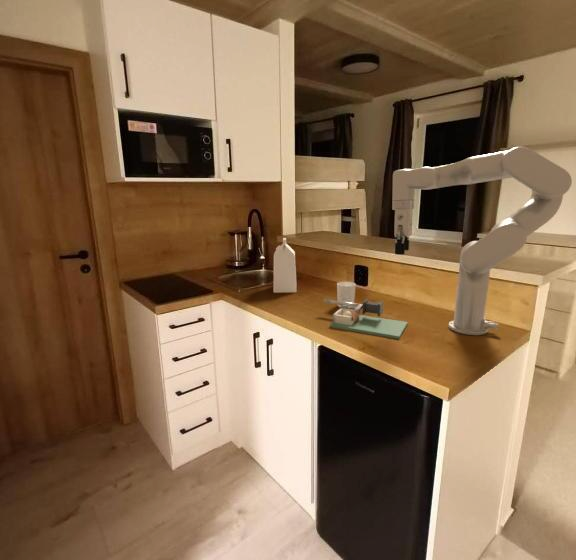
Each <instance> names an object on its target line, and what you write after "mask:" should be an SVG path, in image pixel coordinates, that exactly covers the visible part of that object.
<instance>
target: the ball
mask: <svg viewBox="0 0 576 560" xmlns="http://www.w3.org/2000/svg"><path fill="white" fill-rule="evenodd" d="M343 315H344V316H350V317H352V313H351V312H349V311H345V312H344V313H343Z"/></svg>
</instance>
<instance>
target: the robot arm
mask: <svg viewBox="0 0 576 560" xmlns="http://www.w3.org/2000/svg"><path fill="white" fill-rule="evenodd" d="M511 178H513V179H514V180H516V181H518V182H519V183H521V184H522V185H524V186H525V187H527V188H529V189H530V190H531V196H530V198H529V199H528V200H527V202H526V203H524V204H523V205H522V206H520V207H519V208H518V209H517V210H515V211H514V212H512V213H511V214H510V215H509V216H507V217H505V218H504V219H503V220H501V221H499V222H498V223H496V224H495V225H494V226H492V228H491V229H490V231H489V233H487V234H486V235H485V236H483V237H481V238H480V239H479V240H472V241H469V242H468V243H466V244H465V245H464V246H463V247H462V249H461V252H460V256H459V267H458V278H457V285H456V286H457V287H456V296H455V307H454V317H453V320H451V321H449V322H448V328H449V329H450V330H452V331H453V332H456V333H458V334H463V335H467V336H468V335H469V336H482V335H486V334H487V333H488V329H493V330H499V325H500V324H499V323H495V321H491V320H490V321H488V320H487V319H486V316H485V315H486V305H487V299H488V292H489V291H488V289H489V283H490V274H491V273H490V272H491V270H492V269H493V268H495V267H497V266H498V265H500V264H501V263H503V262H504V261H506V260H507V259H509V258H510V257H512V256H513V255H515V254H516V253H517V252H519V251H520V250H521V249H522V248H523V247H524V246H525V245H526V243H527V240H528V239H527V238H528V237H529V236H530V235H532V234H533V233H535V231H537V230H539V229H540V228H541V227H542V226H544V225H545V224H547V223H548V222H549V221H550V220H551V219H553V218H554V216H555V215H556V214H557V213H558V211H559V209H560V207H561V205H562V202H563V199H564V195H565V194H566V193H568V191H570V188H571V186H572V182H573V181H572V176H571V174H570V172H568V170H566V169H565V168H564V167H562V166H560V165H557V164H556V163H554V161H553V162H552V161H551V160H550V159H548V158H546V157H544V156H543V155H541V154H539V153H538V152H536V151H535V150H532V149H531V148H530V147H526V146H516V147H512V148H511V149H507V150H503V151H498V152H494V153H487V154H481V155H475V156H470V157H467V158H465V159H463V160H460V161H457V162H455V163H454V162H453V163H450V164H445V165H439V166H433V167H431V166H422V167H418V168H413V169H411V168H403V169H397V170H394V171H393V173H392V202H391V203H392V206H391V208H392V210H393V211H394V225H393V226H394V228H393V229H394V231H393V232H394V233H393V234H394V237H395V243H394V249H395V250H394V255H397V256H398V255H402V256H404V255H405V253H406V252H405V251H409V250H410V239H409V238H410V237H411V236H412V234H413V211H412V210H414V209H415V195H416V194H415V190H421V191H422V190H424V191H425V190H433V189H440V188H441V189H442V188H445V187H446V188H447V187H452V186H453V187H454V186H461V185H462V186H463V185H464V186H465V185H467V186H468V185H474V184H478V183H479V184H480V183H485V182H491V181H492V182H493V181H499V180H505V179H511Z"/></svg>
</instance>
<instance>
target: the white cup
mask: <svg viewBox="0 0 576 560" xmlns="http://www.w3.org/2000/svg"><path fill="white" fill-rule="evenodd" d="M356 286H357V285H356V283H355V282H351V281H340V282H337V283H336V295H337V297H336V299H337V301H343V302H350V303H355V295H356ZM341 306H342V305H339V304H337V307H338V308H339V309H340V308H341ZM350 307H351V306H348V309H350Z"/></svg>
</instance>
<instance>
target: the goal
mask: <svg viewBox="0 0 576 560" xmlns="http://www.w3.org/2000/svg"><path fill="white" fill-rule="evenodd" d="M345 311H349V312H351V313H352V317H350V316H344V315H343V313H344V312H345ZM354 311H355V310H352V309H350V308H348V309H345V308H340V307H339V309H338V310H336V311H335V312H334V313H333V314H332V322H334V323H340V324H346V325H351V321H352V318H353V313H354Z"/></svg>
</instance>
